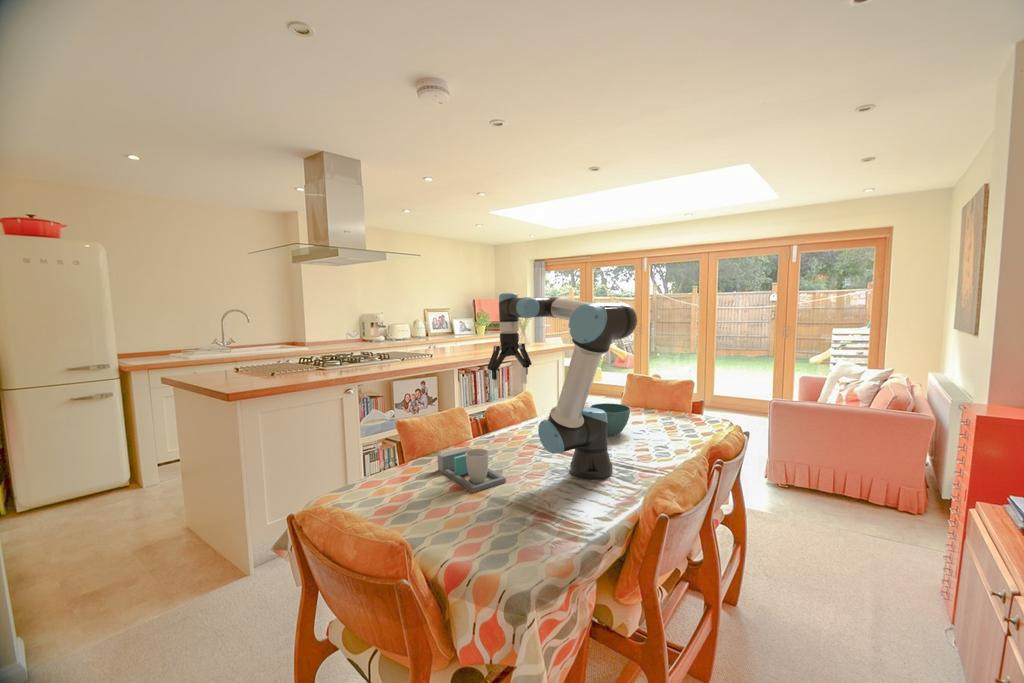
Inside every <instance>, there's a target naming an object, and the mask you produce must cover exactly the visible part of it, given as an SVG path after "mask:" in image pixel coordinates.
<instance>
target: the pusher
mask: <svg viewBox="0 0 1024 683" xmlns="http://www.w3.org/2000/svg"><path fill="white" fill-rule="evenodd" d="M454 467H455V470H454V473H456V474H457V475H459V476H463V475H466V474H468V470H467V464H466V454H465V455H461V456H457V457H454Z"/></svg>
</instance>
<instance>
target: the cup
mask: <svg viewBox="0 0 1024 683" xmlns="http://www.w3.org/2000/svg"><path fill="white" fill-rule="evenodd" d="M471 449H472V450H469V451H467V452H466V453H465V454H466V464H467V470H468V473H467V474H468V477H469V480H470V483H472V484H481V483H484V482H486V479H487V476H488V475H487V471H488V469H489V461H490V460H489V456H490V455H489V454H490V452H489V450H487V449H485V448H471Z"/></svg>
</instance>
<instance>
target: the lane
mask: <svg viewBox="0 0 1024 683" xmlns="http://www.w3.org/2000/svg"><path fill="white" fill-rule="evenodd" d="M472 449H473V448H471V447H469V446H465V447H461V448H458V449H457V448H456V449H451V450H449V451H445V452H441V453H437V470H438V471H440V472H441V473H442V474H444V475H446V476H447V477H449V478H450V479H452V480H453V481H455V482H456V483H458V484H460V485H461V486H463V487H464V488H466V489H467V490H469V491H471V492H472V493H476V491H477V492H480V491H482V489H483V490H485V489H488V488H492V487H495V486H499V485H501V484H505V483H506V482H507V478H506V477H505V476H503V475H502V474H499V473H497V472H496V471H493V469H490V468H488V471H487V476H489V477H490V478H492V480H488V481H484V482H483V483H477V484H475V483H472V482H471V481H469V480H467V479H466V478H463V477H462V475H460V476H459V475H457V474H456V473H455V467H454V457H457V456H461V455H465V453H466V452H467V451H469V450H472ZM479 490H480V491H479Z"/></svg>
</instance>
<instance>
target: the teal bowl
mask: <svg viewBox="0 0 1024 683" xmlns="http://www.w3.org/2000/svg"><path fill="white" fill-rule="evenodd" d="M589 407H591V408H597V409H601V410H603V411H605V412H606V414H607V421H608V435H607V437H614V436H615V437H616V436H619V435H620V434H621V432H623V430H624V429H625V427H626V425H627V424H628V421H629V418H630V413H631V408H630V406H628V405H624V404H620V403H610V402H609V403H608V402H607V403H596V404H595V403H594V404H592V405H589Z"/></svg>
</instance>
